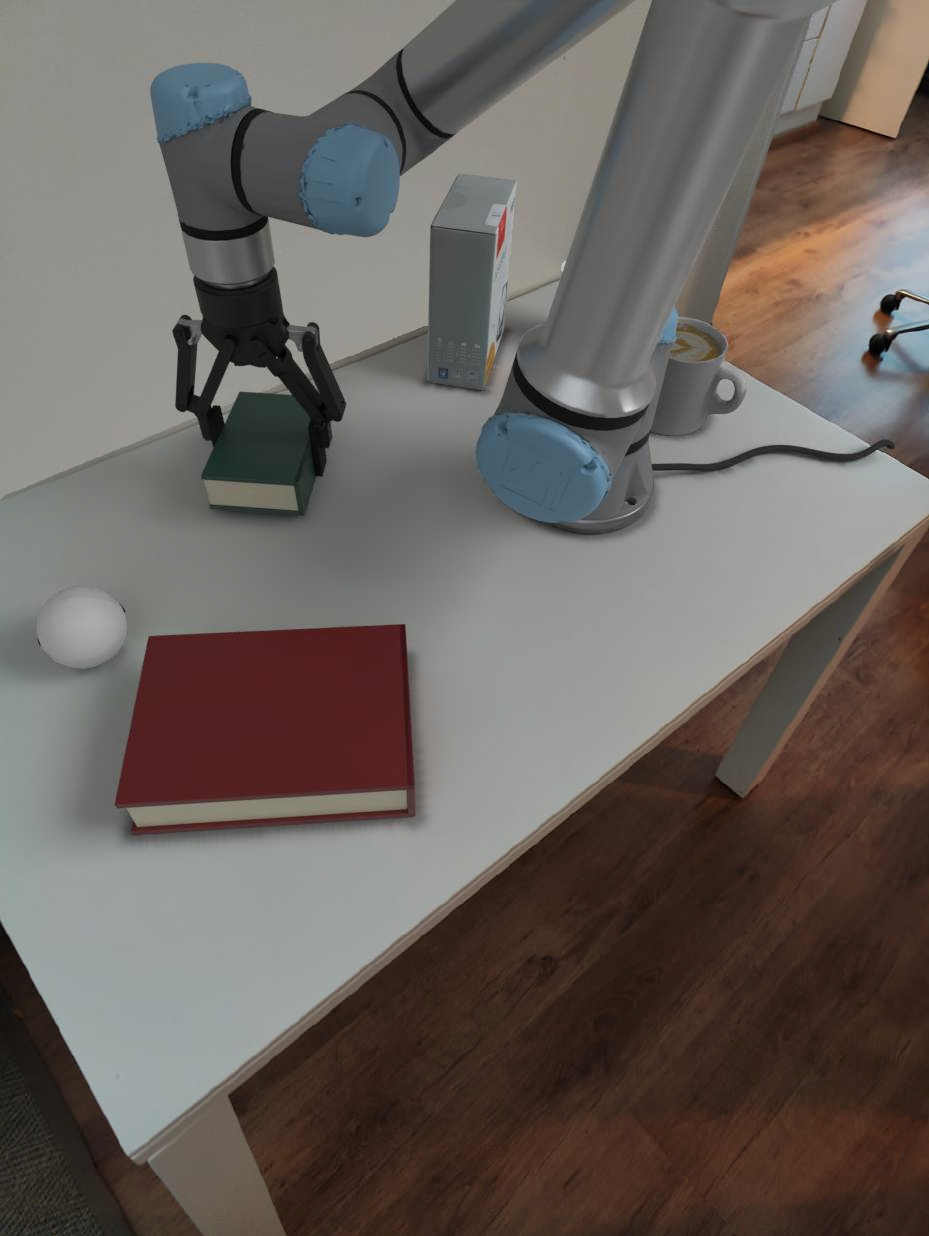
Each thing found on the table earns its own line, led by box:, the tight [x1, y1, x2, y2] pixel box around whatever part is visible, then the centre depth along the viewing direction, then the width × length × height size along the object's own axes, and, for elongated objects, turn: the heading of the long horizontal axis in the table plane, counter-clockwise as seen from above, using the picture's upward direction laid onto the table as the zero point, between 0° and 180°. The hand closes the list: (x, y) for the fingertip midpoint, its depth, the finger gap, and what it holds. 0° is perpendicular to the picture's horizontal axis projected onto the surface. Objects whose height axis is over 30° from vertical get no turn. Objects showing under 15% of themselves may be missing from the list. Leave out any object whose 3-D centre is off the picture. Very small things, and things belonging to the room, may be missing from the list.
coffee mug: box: [650, 316, 748, 437], centre depth 98 cm, size 13×10×10 cm
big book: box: [113, 623, 417, 836], centre depth 68 cm, size 22×16×5 cm
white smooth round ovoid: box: [25, 585, 128, 670], centre depth 73 cm, size 10×7×7 cm
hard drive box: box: [426, 172, 518, 391], centre depth 102 cm, size 16×8×20 cm, turn 168°
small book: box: [200, 391, 317, 517], centre depth 89 cm, size 10×15×4 cm, turn 175°
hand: (273, 465), depth 91 cm, fingers closed on small book, 10 cm apart
